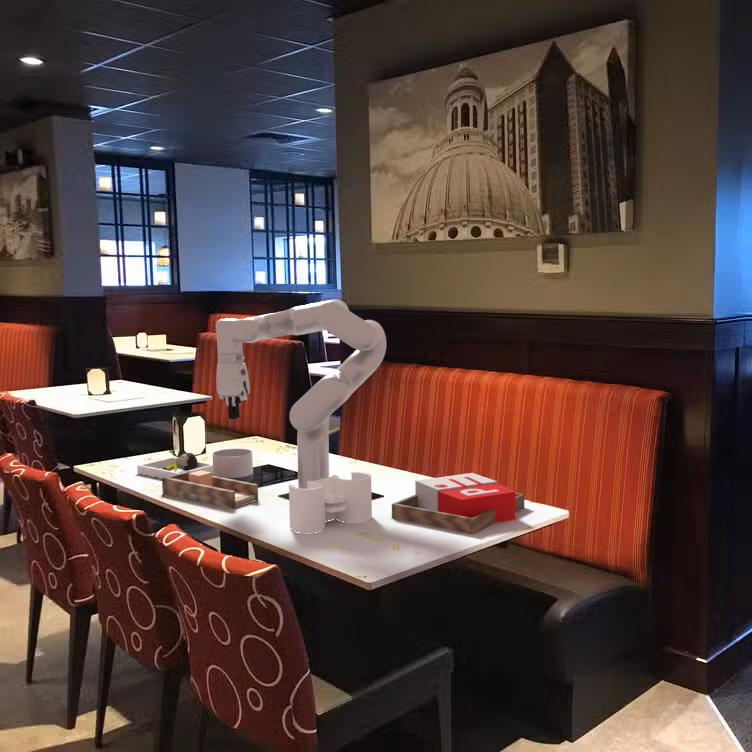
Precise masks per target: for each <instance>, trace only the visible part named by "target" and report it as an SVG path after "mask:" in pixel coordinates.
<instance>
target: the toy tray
mask: <svg viewBox="0 0 752 752" xmlns="http://www.w3.org/2000/svg"><path fill="white" fill-rule="evenodd" d="M177 458H178V456H171V457H168V458H163V459H158V460H155V461H150V462H145V463H141V464H137V466H136V469H137V473H138V475H141V474H143V475H142V476H145V475H148V476H147V477H150V476H153V477H152V478H155V477H157V478H156V479H160V478H161V480H162V478H163V477H167V476H171V475H175V474H179V473H183V472H187V471H181V472H178V471H176V472H175V471H174V470H173V471H172V470H171V471H168V470H163V469H161V468H164V467H166V466H168V465H171V464H176V459H177ZM165 465H166V466H165ZM200 470H201V471H206V472H212V475H213V463H210V462H205V461H204V462H203V461H198V460H197V467H196V468H195V469H193V470H189V471H192V472H197V471H200Z"/></svg>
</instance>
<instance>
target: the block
mask: <svg viewBox="0 0 752 752" xmlns="http://www.w3.org/2000/svg"><path fill="white" fill-rule="evenodd" d="M212 475H213V474H212V472H206V471H201V470H200V471H197V472H193V473H189V482H193V483H198V484H203V485H208V486H212Z"/></svg>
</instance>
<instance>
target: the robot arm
mask: <svg viewBox="0 0 752 752" xmlns="http://www.w3.org/2000/svg"><path fill="white" fill-rule="evenodd" d="M215 327H216V345H217V361H218V362H217V366H216V379H215V380H216V381H215V382H216V392H217V394H218V398H219V399H220V400H223V401H224V402H225V405H226V406H227V410H228V411H227V412H228V420H236V419H239V418H240V417H241V415H240V406H241V403H242V402H243V401H247V400H248V395H249V394H250V392H251V387H250V386H251V385H250V379H249V378H250V377H249V372H248V368H247V365H246V362H244V360H245V355H244V352H243V343H247V344H248V343H250V344H251V343H256V342H259V341H263V340H268V339H274V338H277V337H278V338H280V337H284V336H290V335H292V336H300V335H301V336H302V335H306V334H311V333H317V332H323V331H326V332H327V333H330V334H331V335H332V336H334V337H335V338H337V339H338V340H341V341H342V342H343V343H344V344H347V345H348V346H350V347H351V348H353V349H355V350H354V351H353V353H351V354H350V355H349V356H348V357H347V358H346V359H345V360H344V361H343V362H342V363H341V364H340V365H339V366H338V367H337V368H335V369H334V370H333V371H331V373H328V374H326V375H325V376H323V377H322V378H321V379H320V380H319V381H317V382H316V383H315V384H314V385H313V386H312V387H311V388H310V389H309V390H308V391H307V392H306V393H304V395H302V397H300V398H299V399H298V400H297V401H296V402H295V403H294V404H293V405H292V406H291V409H290V411H289V422H290V424H291V425H292V427H293V428H294V429H295V430H297V436H296V437H297V438H296V439H297V440H296V443H297V448H296V449H297V481H298V482H297V483H298V484H297V488H300V489H307V481H314V480H319V479H324V478H329V477H330V455H329V453H330V451H329V449H330V447H329V446H330V445H329V444H330V443H329V442H330V441H329V438H330V437H329V435H330V434H329V432H330V418H331V417H330V416H331V415H333V413H334V412H335V411H337V410H338V409H339V408H340V407H341V406H342V405H343V404H344V403H345V402H347V400H348V399H349V398H350V397H351V396H352V394H353V393H354V392H356V390H357V389H358V388H359V387H360V386H362V385H363V383H364V382H366V380H368V378H370V376H371V375H373V373H374V372H375V371H376V370H377V369H378V368H379V366H380V365H381V363H382V362H383V361H384V357H385V355H386V350H387V337H386V333H385V330H384V329H383V327H382V325H381V324H380V323H379V322H377V321H376V320H372V319H366V320H364V319H363V318H362V317H360V316H358V315H356V314H355V313H353V312H352V311H350V310H349V307H348V305H347V304H346V303H345V302H344V301H342V300H340V299H330V300H325V301H319V302H313V303H309V304H305V305H298V306H294V307H291V308H289V309H286V310H283V311H278V312H273V313H267V314H262V315H261V314H260V315H256V316H251V317H246V318H234V317H232V318H221V319H218V320H217V321H216V323H215Z"/></svg>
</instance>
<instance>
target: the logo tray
mask: <svg viewBox="0 0 752 752" xmlns="http://www.w3.org/2000/svg"><path fill="white" fill-rule="evenodd" d="M524 508H525V494H524V493H522V492H521V493H520V492H516V494H515V513H517V512H519V511H520V510H522V509H524ZM391 519H396V520H401V521H407V522H410V523H414V524H415V523H416V524H421V525H426V526H430V527H436V528H441V529H444V530H445V529H446V530H450V531H455V532H459V533H460V532H461V533H465V534H469V535H474V534H477V533H478V532H480V531H482V530H484V529H486V528H488V527H490V526H492V525H494V524H496V523H495V509H490V510H487V511H485V512H483V513H481V514H479V515H477V516H474V517H472V518H470V517H464V516H459V515H454V514H449V513H443V512H438V511H433V510H427V509H422V508H417V495H416V494H414V495H411V496H409V497H406V498H402V499H401V500H399V501H396V502H393V503H392V504H391Z"/></svg>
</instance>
